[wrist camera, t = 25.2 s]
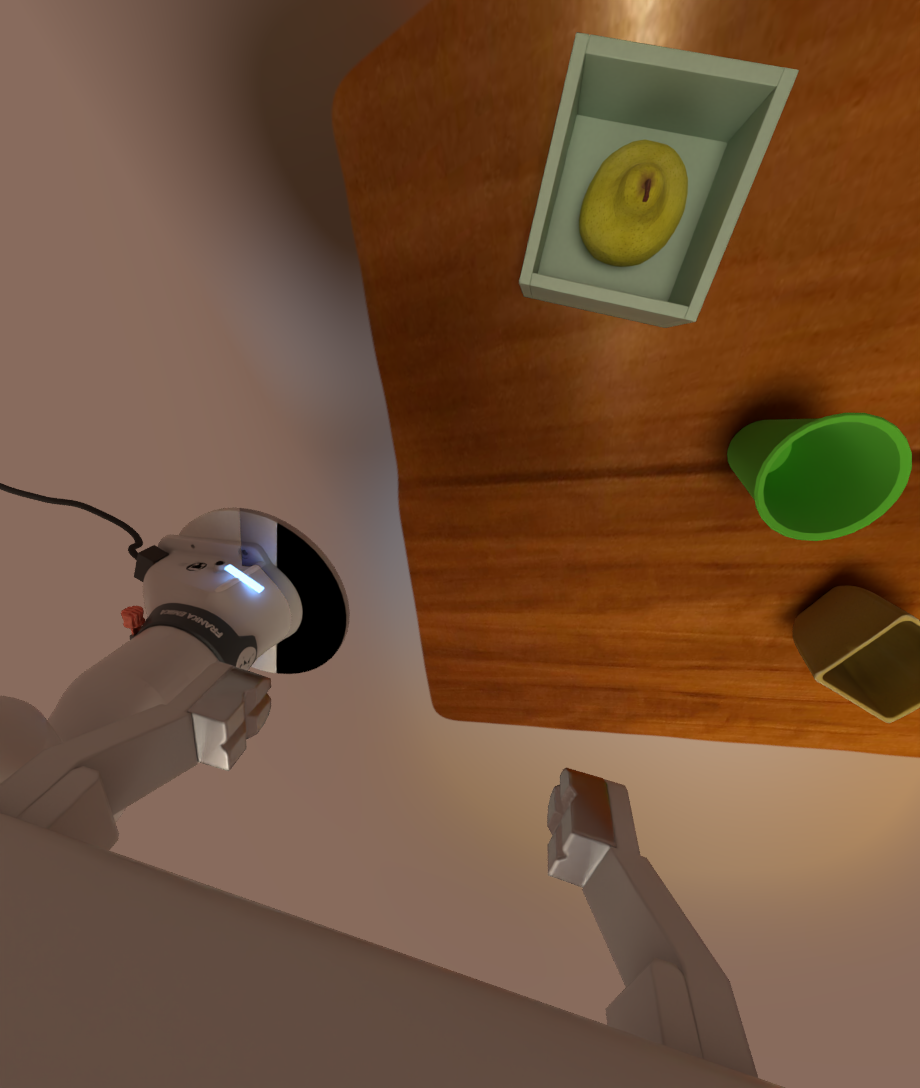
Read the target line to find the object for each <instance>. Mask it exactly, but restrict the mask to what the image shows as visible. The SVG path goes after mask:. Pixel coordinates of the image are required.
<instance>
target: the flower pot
mask: <svg viewBox="0 0 920 1088" xmlns="http://www.w3.org/2000/svg"><path fill="white" fill-rule="evenodd" d="M793 639H794V643H795V645H796V647H797V649H798V651H799V653H800V655H801V656H802V658H803V660H804V661H805V663H806V665H807V667H808V668H809V670H810V672H811V673H812V675H813V677H814V679H815V680H816V681H818V682H819V683H821V684H823V685H824V686H826V687H828V688H829V689H831V690H833V691H834V692H836V693H838V694H840V695H841V696H843V697H845V698H846V699H848V700H850V701H851V702H853V703H854V704H856V705H858V706H859V707H861V708H863V709H864V710H866V711H867V712H869V713H871V714H872V715H874V716H876V717H877V718H879V719H881V720H883V721H885V722H887V723H891V722H893V721H895V720H897V719H900V718H902V717H903V716H905V715H907V714H909V713H911V712H913V711H914V710H916V709H918V708H920V620H919V619H917V618H915V617H914V616H912V615H911V614H909V613H907V612H906V611H904V610H902V609H901V608H899V607H897V606H895V605H894V604H892V603H890V602H889V601H887V600H885V599H883V598H882V597H880V596H878V595H876V594H875V593H873V592H871V591H869V590H866V589H863V588H860V587H856V586H849V585H844V586H836V587H834V588H832V589H831V590H830V591H829V592H827V593H826V594H825V595H823V596H822V597H821V598H820V599H818V600H817V601H816V602H815V603H813V604H812V605H811V606H809V607H808V608H807V609H805V610H804V611H803V612H801V613H800V614H799V615H798V616H797V617H796V619H795V621H794V625H793Z"/></svg>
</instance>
